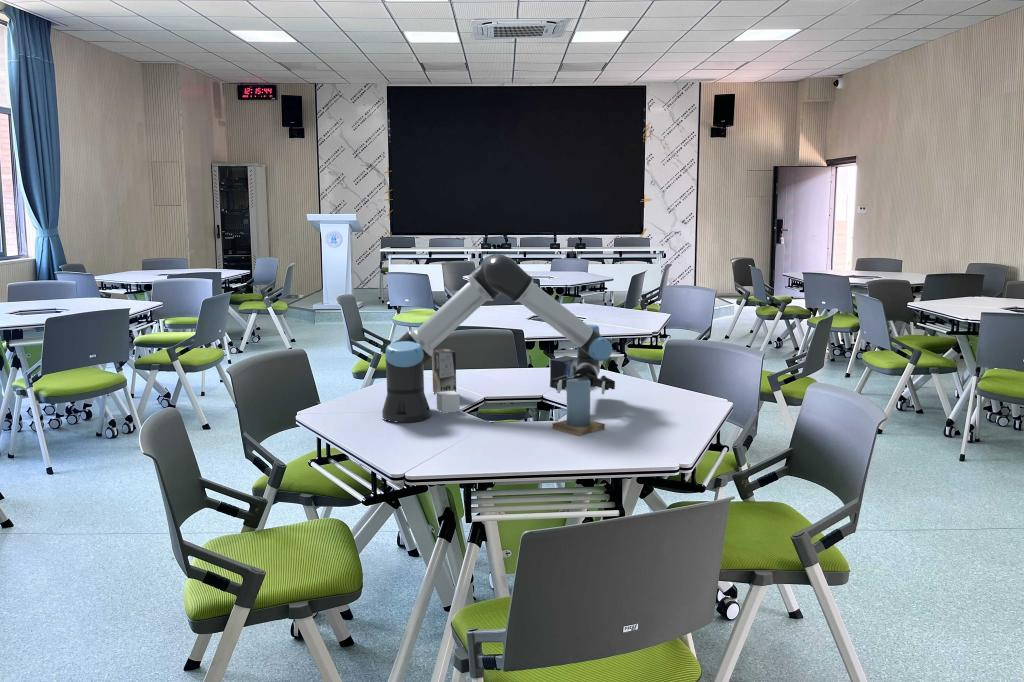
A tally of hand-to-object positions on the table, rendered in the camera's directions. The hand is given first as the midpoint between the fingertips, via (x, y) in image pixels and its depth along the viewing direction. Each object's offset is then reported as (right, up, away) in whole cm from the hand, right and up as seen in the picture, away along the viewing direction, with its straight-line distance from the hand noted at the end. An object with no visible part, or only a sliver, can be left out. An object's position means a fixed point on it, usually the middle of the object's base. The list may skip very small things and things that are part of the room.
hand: (580, 389), depth 249 cm
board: (-1, -11, -7) cm, 13 cm away
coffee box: (-45, -5, +41) cm, 61 cm away
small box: (-1, -2, +54) cm, 54 cm away
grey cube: (-42, -8, +17) cm, 46 cm away
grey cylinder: (-1, -10, -7) cm, 12 cm away
